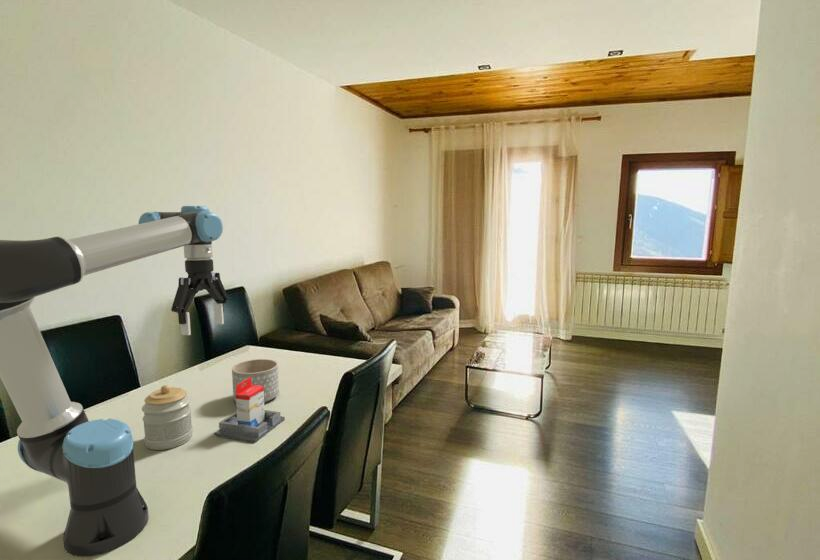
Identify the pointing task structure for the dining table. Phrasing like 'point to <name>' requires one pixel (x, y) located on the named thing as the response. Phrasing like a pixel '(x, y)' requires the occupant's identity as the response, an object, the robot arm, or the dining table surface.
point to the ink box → (249, 403)
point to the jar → (167, 418)
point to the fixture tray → (248, 427)
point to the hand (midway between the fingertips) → (203, 329)
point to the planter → (258, 376)
